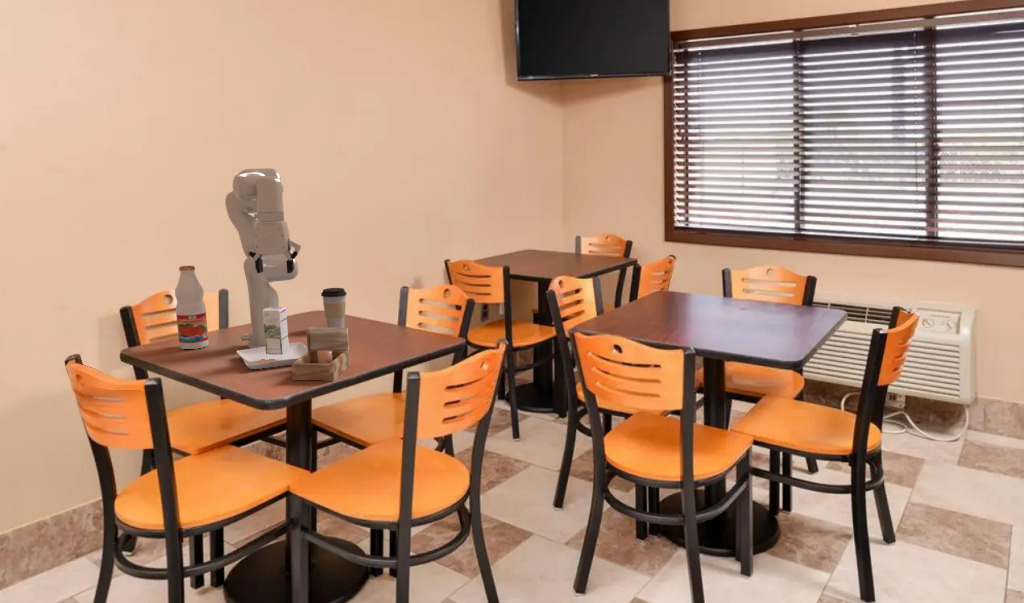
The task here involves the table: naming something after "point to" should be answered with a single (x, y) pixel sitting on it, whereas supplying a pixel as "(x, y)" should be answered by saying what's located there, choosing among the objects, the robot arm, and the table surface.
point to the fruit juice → (190, 311)
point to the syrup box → (275, 330)
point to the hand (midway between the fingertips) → (275, 272)
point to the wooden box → (309, 362)
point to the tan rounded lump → (325, 356)
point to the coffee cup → (334, 306)
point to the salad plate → (272, 356)
